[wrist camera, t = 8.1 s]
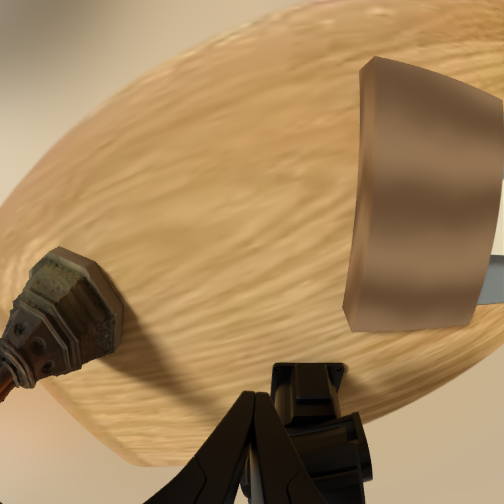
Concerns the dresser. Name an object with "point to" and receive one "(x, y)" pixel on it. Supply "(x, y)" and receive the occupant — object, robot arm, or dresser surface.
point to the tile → (499, 229)
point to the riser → (422, 199)
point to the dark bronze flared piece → (59, 321)
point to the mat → (493, 280)
